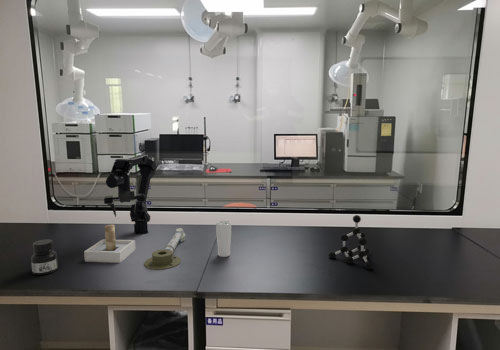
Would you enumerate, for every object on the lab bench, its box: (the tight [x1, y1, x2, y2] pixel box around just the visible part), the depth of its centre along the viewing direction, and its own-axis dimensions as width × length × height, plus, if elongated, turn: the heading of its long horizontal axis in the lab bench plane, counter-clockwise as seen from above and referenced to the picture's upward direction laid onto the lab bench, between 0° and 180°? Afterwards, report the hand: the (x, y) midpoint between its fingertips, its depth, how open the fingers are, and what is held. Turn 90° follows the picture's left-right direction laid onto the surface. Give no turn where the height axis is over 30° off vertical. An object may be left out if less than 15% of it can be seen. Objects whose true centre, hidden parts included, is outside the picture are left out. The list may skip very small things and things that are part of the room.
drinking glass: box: [215, 220, 232, 258], centre depth 154 cm, size 7×7×15 cm
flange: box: [143, 249, 182, 271], centre depth 147 cm, size 5×15×15 cm
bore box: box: [83, 239, 136, 264], centre depth 155 cm, size 16×16×4 cm
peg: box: [104, 223, 116, 251], centre depth 154 cm, size 4×4×13 cm
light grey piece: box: [164, 227, 186, 254], centre depth 165 cm, size 5×7×25 cm
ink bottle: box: [30, 238, 59, 276], centre depth 138 cm, size 10×9×12 cm
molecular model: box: [328, 214, 374, 270], centre depth 150 cm, size 18×20×20 cm
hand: (125, 215), depth 172 cm, fingers open, 9 cm apart
